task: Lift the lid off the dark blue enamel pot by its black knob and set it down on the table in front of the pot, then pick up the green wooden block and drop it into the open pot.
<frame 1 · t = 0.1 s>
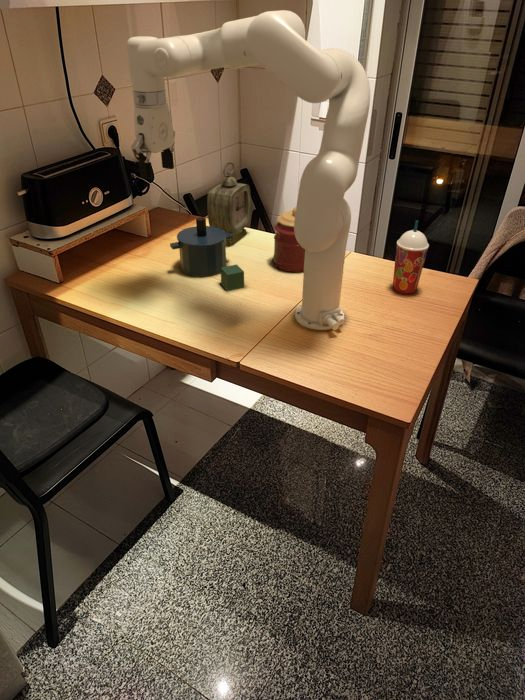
hand: (157, 173, 130), 31 cm above the table, tool pointing down, fingers open, 9 cm apart
tabletop clock: (229, 238, 176), on the table
pot: (203, 266, 157), on the table
lid: (202, 237, 152), point 9 cm above the table, touching pot
kitchen canister: (294, 264, 160), on the table
smoothie: (404, 289, 147), on the table
block: (232, 285, 147), on the table
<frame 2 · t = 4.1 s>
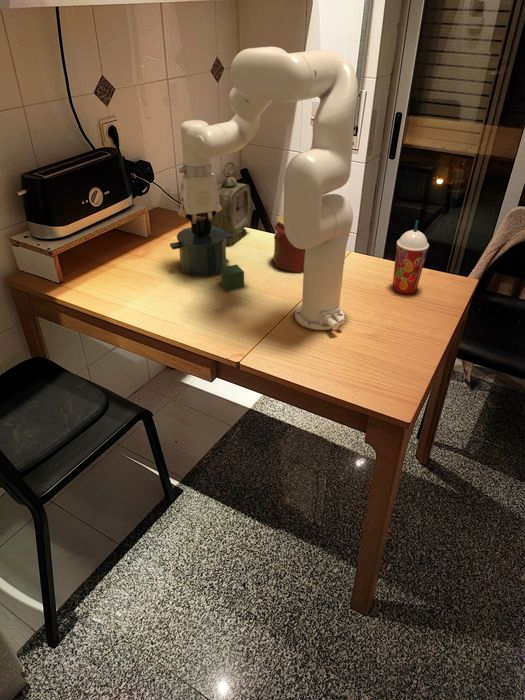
hand: (201, 233, 151), 11 cm above the table, tool pointing down, fingers closed on lid, 2 cm apart
lid: (202, 237, 152), point 10 cm above the table, touching gripper, pot
everything else where it was.
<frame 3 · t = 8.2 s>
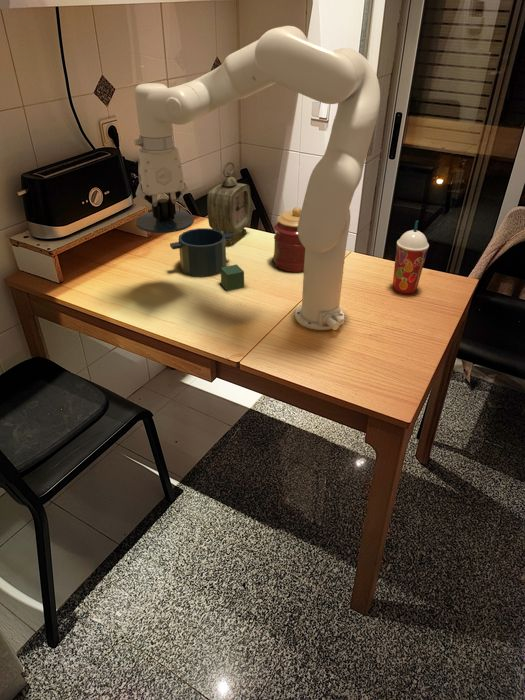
hand: (164, 218, 131), 21 cm above the table, tool pointing down, fingers closed on lid, 2 cm apart
lid: (165, 222, 132), point 20 cm above the table, touching gripper
everything else where it was.
when the fingers open (2 cm above the table, at t = 12.6 s): lid stays where it is, point 1 cm above the table.
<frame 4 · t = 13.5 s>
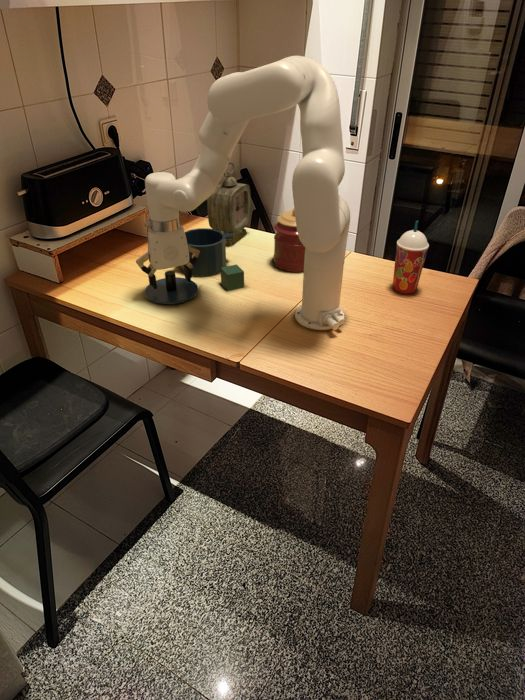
hand: (171, 283, 142), 3 cm above the table, tool pointing down, fingers open, 9 cm apart
lid: (171, 291, 143), point 1 cm above the table
everything else where it was.
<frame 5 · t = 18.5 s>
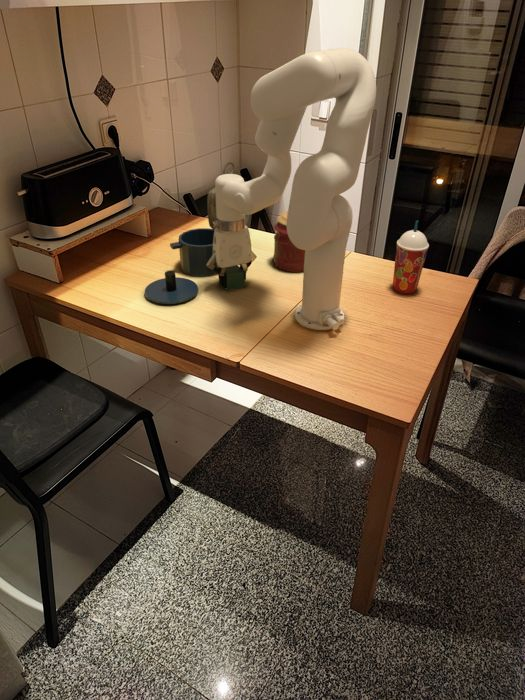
hand: (232, 284, 147), 0 cm above the table, tool pointing down, fingers closed on block, 5 cm apart
block: (232, 285, 147), on the table, touching gripper
everything else where it was.
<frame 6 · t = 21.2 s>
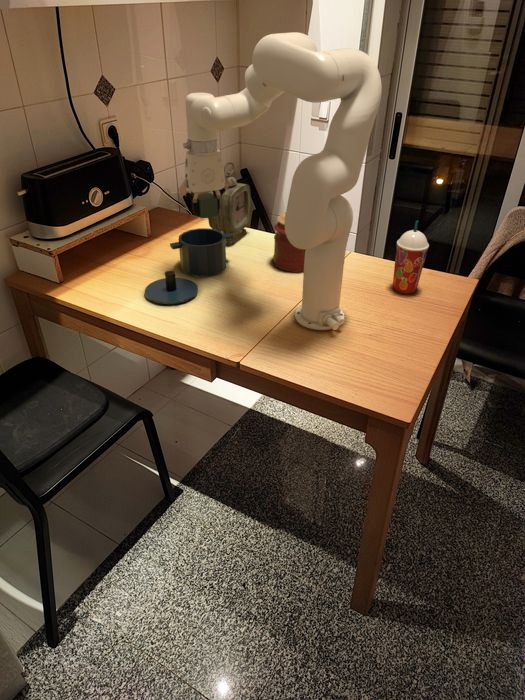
hand: (206, 212, 145), 18 cm above the table, tool pointing down, fingers closed on block, 5 cm apart
block: (206, 214, 145), point 17 cm above the table, touching gripper
everything else where it was.
when the fingers open (8 cm above the table, at t = 24.4 s): block drops 7 cm, resting on pot.
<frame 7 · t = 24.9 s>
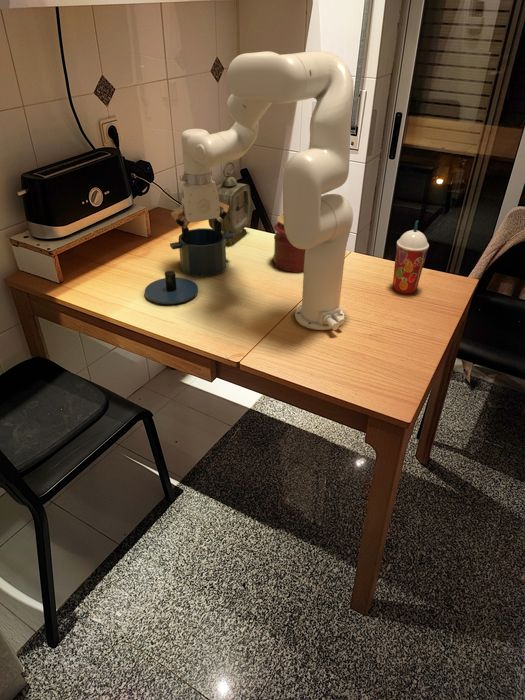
hand: (202, 236, 152), 10 cm above the table, tool pointing down, fingers open, 9 cm apart
block: (203, 265, 157), resting on pot
everything else where it was.
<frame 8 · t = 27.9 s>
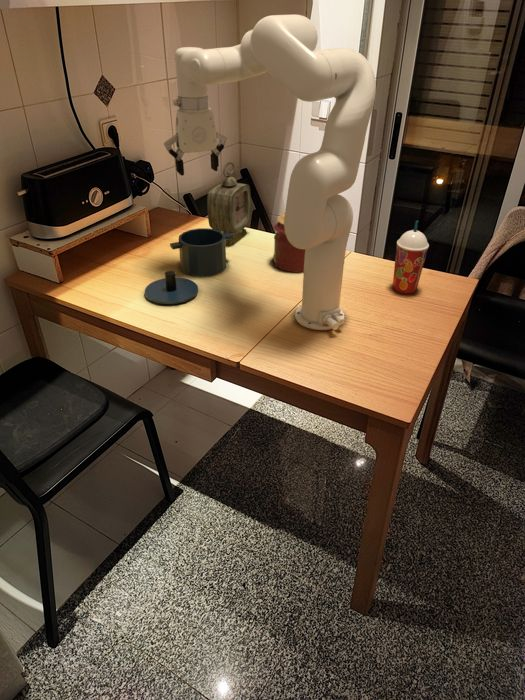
hand: (197, 172, 141), 28 cm above the table, tool pointing down, fingers open, 9 cm apart
nothing on the table moved.
at the end: lid inside the target area (0.1 cm from its centre), point 0.6 cm above the table; lid tilted 0°; block inside the target area in the pot (0.0 cm from its centre), point 0.5 cm above the pot's base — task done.
